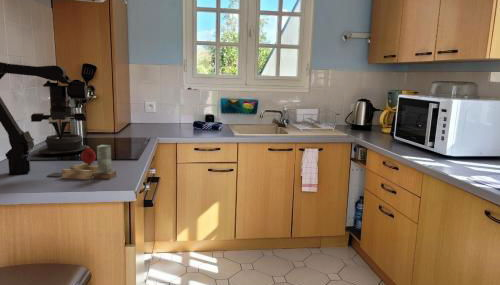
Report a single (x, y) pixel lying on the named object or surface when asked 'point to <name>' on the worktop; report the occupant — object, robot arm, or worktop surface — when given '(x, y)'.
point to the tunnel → (79, 171)
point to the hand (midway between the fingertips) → (60, 139)
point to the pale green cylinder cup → (104, 163)
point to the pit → (55, 175)
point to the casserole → (63, 144)
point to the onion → (88, 156)
